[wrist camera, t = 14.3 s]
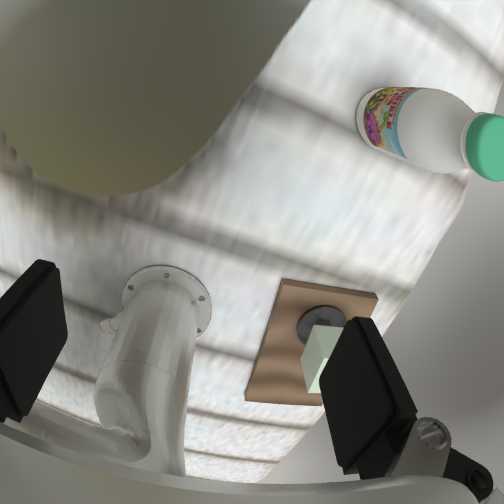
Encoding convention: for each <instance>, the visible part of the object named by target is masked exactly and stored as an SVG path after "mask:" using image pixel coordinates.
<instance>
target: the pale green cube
mask: <svg viewBox="0 0 504 504" xmlns="http://www.w3.org/2000/svg"><path fill="white" fill-rule="evenodd" d="M342 331H343V327H332V326H321V325H313V328H312V331H311V333H310V336H309V338H308V341H307V344H306V346H305V349H304V351H303V354H302V356H301V359H300V361H301V365H302V369H303V374H304V378H305V382H306V387H307V391H308V393H321V391H320V387H319V377H320V375H321V373H322V371H323V369H324V367H325V365H326V363H327V361H328V359H329V357H330V355H331V353H332V351H333V349H334V347H335V345H336V343H337V341H338V339H339V337H340V335H341V333H342Z"/></svg>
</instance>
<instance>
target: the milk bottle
mask: <svg viewBox="0 0 504 504" xmlns="http://www.w3.org/2000/svg"><path fill="white" fill-rule="evenodd" d="M356 121H357V127H358V130H359V133H360V135H361V136H362V138H363V139H364V141H365V142H366V143H367V144H368V145H370V146H371V147H373V148H374V149H376V150H378V151H381V152H383V153H385V154H387V155H390V156H392V157H394V158H397V159H399V160H401V161H404V162H406V163H408V164H411V165H413V166H415V167H418V168H420V169H423V170H426V171H429V172H434V173H453V172H457V171H460V170H463V169H469V170H470V171H472V172H473V173H475V174H477V175H480V176H482V177H483V178H486V179H488V180H491V181H497V182H498V181H503V180H504V117H502V116H499V115H496V114H490V113H485V112H478V113H475V112H474V111H473V110H472V109H471V108H470V107H469V106H468V105H467V104H466V103H464V102H463V101H462V100H461V99H459V98H458V97H456V96H455V95H453V94H450V93H448V92H446V91H442V90H438V89H431V88H415V87H392V88H379V89H375V90H373V91H371V92H369V93H368V94H366V95H365V96H364V97H363V99H362V100H361V102H360V104H359V106H358V109H357V114H356Z"/></svg>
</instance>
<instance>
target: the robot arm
mask: <svg viewBox="0 0 504 504" xmlns="http://www.w3.org/2000/svg"><path fill="white" fill-rule="evenodd" d="M121 303H122V309H123V310H122V312H120V313H118V314H117V315H116V317H113V318H108V319H105V320H102V321H101V322H100V328H101V330H102V332H104V333H109V332H113V331H116V330H117V329H118V330H117V332H116V334H115V337H114V339H113V341H112V344H111V346H110V348H109V351H108V353H107V355H106V358H105V360H104V363H103V365H102V368H101V370H100V373H99V375H98V378H97V380H96V384H95V388H94V403H95V408H96V412H97V415H98V417H99V420H100V422H101V425H102V427H103V428H101V427H98V426H95V425H94V426H93V425H91V424H88V423H86V422H83V421H81V420H78V419H76V418H74V417H72V416H69V415H67V414H65V413H63V412H60V411H58V410H56V409H54V408H52V407H50V406H47V405H45V404H43V403H41V402H38V401H36V398H37V396H38V394H39V392H40V390H41V388H42V386H43V384H44V382H45V380H46V378H47V376H48V374H49V372H50V370H51V369H52V367H53V365H54V363H55V361H56V359H57V357H58V356H59V354H60V352H61V350H62V348H63V347H64V345H65V343H66V340H67V336H68V332H67V325H66V319H65V312H64V305H63V297H62V289H61V279H60V271H59V269H58V268H56V265H55V263H53V262H50V261H45V260H41V259H38V260H36V261H35V262H34V263H33V264H32V265H31V266H30V267H29V268H28V269H27V270H26V271H25V272H24V273H23V274H22V275H21V276H20V278H19V279H18V280H17V281H16V282H15V283H14V284H13V285H12V286H11V287H10V288H9V289H8V290H7V291H6V292H5V294H4V295H3V296H2V297H1V298H0V504H504V494H503V493H502V492H501V491H500V490H499V489H498V488H495V489H494V490H493V480H492V476H491V474H490V472H489V471H488V470H487V469H486V468H485V467H484V466H482V465H481V464H479V463H477V462H475V461H474V460H472V459H470V458H468V457H467V456H465V455H463V454H461V453H459V452H458V451H456V450H455V449H453V448H451V440H452V439H451V435H450V432H449V430H448V429H447V427H446V426H445V425H444V424H443V423H442V422H440V421H439V420H437V419H435V418H432V417H421V418H419V419H417V417H416V415H415V414H416V413H417V412H418V411H417V409H416V407H415V404H414V402H413V400H412V398H411V396H410V394H409V391H408V389H407V387H406V385H405V383H404V381H403V379H402V377H401V375H400V373H399V371H398V369H397V367H396V365H395V362H394V360H393V358H392V356H391V354H390V353H389V351H388V349H387V347H386V345H385V343H384V341H383V339H382V337H381V335H380V333H379V331H378V329H377V327H376V325H375V323H374V321H373V320H372V319H371V318H367V317H359V316H355V317H353V318H352V320H348V321H347V322H346V324H345V326H344V328H343V331H342V333H341V335H340V337H339V339H338V341H337V343H336V345H335V347H334V349H333V351H332V353H331V355H330V357H329V359H328V361H327V363H326V365H325V367H324V369H323V371H322V373H321V375H320V377H319V387H320V391H321V396H322V400H323V404H324V408H325V412H326V416H327V420H328V424H329V429H330V433H331V437H332V442H333V446H334V451H335V454H336V459H337V463H338V465H339V466H340V467H342V468H343V473H344V475H347V474H357V473H359V475H360V480H357V481H345V482H330V483H313V484H254V483H237V482H224V481H213V480H204V479H196V478H188V477H186V470H185V460H184V428H185V418H186V409H187V401H188V392H189V384H190V377H191V370H192V362H193V355H194V349H195V342H196V338H197V337H199V336H200V335H201V334H202V333H203V332H204V331H205V330H206V328H207V327H208V325H209V322H210V320H211V313H212V305H211V300H210V297H209V295H208V293H207V291H206V289H205V288H204V287H203V285H202V284H201V283H200V282H199V281H198V280H197V279H196V278H194V277H193V276H191V275H190V274H188V273H187V272H184V271H182V270H180V269H177V268H173V267H169V266H152V267H148V268H144V269H142V270H140V271H138V272H137V273H135V274H134V275H133V276H132V277H131V278H130V279H129V280H128V282H127V283H126V285H125V287H124V289H123V293H122V299H121Z"/></svg>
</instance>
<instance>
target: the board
mask: <svg viewBox="0 0 504 504" xmlns="http://www.w3.org/2000/svg"><path fill="white" fill-rule="evenodd" d="M378 300H379V299H378V297H377V296H376V294H375V293H369V292H362V291H356V290H349V289H343V288H337V287H330V286H324V285H318V284H312V283H306V282H300V281H294V280H288V279H282V281H281V284H280V287H279V290H278V294H277V297H276V300H275V303H274V306H273V310H272V313H271V316H270V319H269V322H268V325H267V328H266V331H265V335H264V338H263V341H262V344H261V347H260V350H259V353H258V356H257V359H256V362H255V365H254V368H253V371H252V374H251V377H250V380H249V383H248V386H247V389H246V392H245V401H251V402H261V403H273V404H288V405H307V406H321V405H322V404H323V400H322V396H321V393H308V391H307V387H306V382H305V378H304V374H303V369H302V365H301V361H300V359H301V356H302V354H303V351H304V349H305V346H306V344H307V341H308V338H309V336H310V333H311V331H312V328H313V325H321V326H332V327H343V328H344V326H345V324H346V322H347V321H348V320H352V318H353V317H355V316H359V317H367V318H370V316H371V314H372V312H373V310H374V308H375V306H376V304H377V302H378Z"/></svg>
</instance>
